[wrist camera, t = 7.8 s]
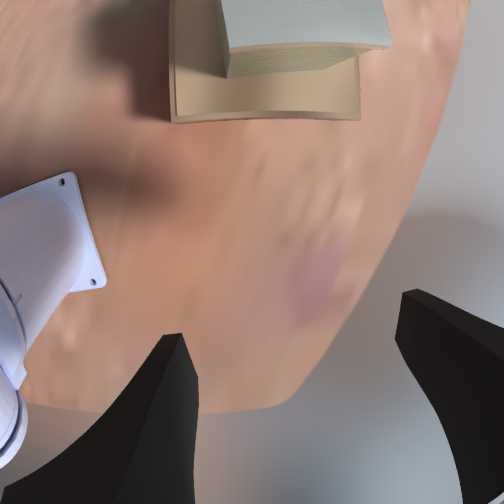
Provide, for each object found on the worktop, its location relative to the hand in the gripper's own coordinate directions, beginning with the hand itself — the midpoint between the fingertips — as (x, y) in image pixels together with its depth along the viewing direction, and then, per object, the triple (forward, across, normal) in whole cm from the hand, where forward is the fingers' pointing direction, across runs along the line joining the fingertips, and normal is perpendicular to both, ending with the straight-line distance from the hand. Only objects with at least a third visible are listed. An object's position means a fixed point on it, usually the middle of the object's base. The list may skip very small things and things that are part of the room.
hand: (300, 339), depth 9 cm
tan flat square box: (+11, -1, -11) cm, 16 cm away
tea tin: (+7, -1, -11) cm, 13 cm away
